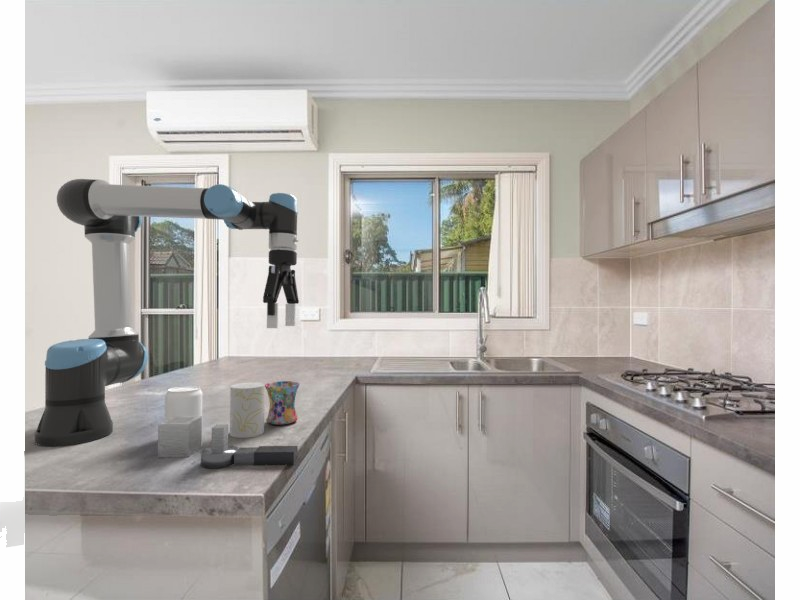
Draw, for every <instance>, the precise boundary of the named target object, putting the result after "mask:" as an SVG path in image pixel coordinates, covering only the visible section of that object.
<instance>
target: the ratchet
mask: <svg viewBox="0 0 800 600" xmlns="http://www.w3.org/2000/svg"><path fill="white" fill-rule="evenodd" d="M298 453H299V446H298V445H259V446H258V447H252V446H251V447H250V446H249V447H247V446H246V447H239V448H238V446H236V445H233V444H229V424H227V423H226V424H225V423H224V424H221V423H220V424H215V425H213V426H212V427H211V446H210V447H208V448H207V447H206V448H205V449H203V450H202V451H200V467H201V468H203V469H206V470H221V469H225V468H229V467H232V466H235V467H236V466H239V467H241V466H244V467H245V466H246V467H247V466H254V467H257V466H260V467H261V466H262V467H263V466H266V467H267V466H269V467H270V466H273V467H274V466H295V464H296V463H297V461H298V459H299V458H298V457H299V455H298Z"/></svg>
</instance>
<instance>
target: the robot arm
mask: <svg viewBox="0 0 800 600" xmlns="http://www.w3.org/2000/svg"><path fill="white" fill-rule="evenodd" d="M56 203H57V204H56V205H57V207H58V210H60V213H62V215H63V216H65V218H67V219H68V220H70V221H71V222H72V223H75V224H78V225H81V226H84V228H83V229H84V237H85V239H86V240H88V241H89V242H90V243H91V251H92V252H91V254H92V255H91V256H92V282H93V284H92V285H93V309H94V312H93V313H94V331H93V332H92V333H91V334H90V335H89V336H88V338H81V339H80V338H79V339H75V340H74V339H73V340H66V341H62V342H58V343H55V344H52V345H50V347H48V348H47V350H46V355H45V357H46V358H45V361H44V366H45V374H44V375H45V377H44V378H45V381H44V382H45V383H44V384H45V385H44V387H45V389H44V390H45V391H44V392H45V400H44V402H45V403H44V404H45V405H44V410H43V413H42V415H41V418H40V421H39V423H38V425H37V428H36V430H35V432H34V444H36V443H37V444H36V445H38V444H39V445H38V446H43V445H45V446H46V447H57V446H59V447H60V446H68V445H76V444H81V443H86V442H91V441H95V440H99V439H102V438H104V437H107V436H109V435H110V434H112V433H113V431H114V422H113V420H112V418H111V414H110V412H109V409H108V406H107V404H106V387H108V386H111V385H115V384H123V383H126V382H128V381H130V380H133V379H135V378H137V377H138V376H140V374H141V373H143V371H145V369H146V367H147V364H148V362H149V361H148V360H149V354H148V350H147V348H146V346H144V345H143V343H142V342H141V341H140V339H139V338H140V337H139V332H138V331H136V330H135V329H134V328H133V319H132V318H133V317H132V315H133V313H132V293H131V292H132V291H131V288H132V287H131V267H130V266H131V265H130V261H131V260H130V244H131V243H132V242H134V241H135V240H136V239H135V238H136V232H138V231H139V228H141V226H142V223H143V217H146V218H147V217H149V218H173V219H175V218H176V219H177V218H179V219H202V220H203V219H204V220H207V219H208V220H219V221H220V220H222V221H224V224H225V226H226V227H227V228H228V229H232V230H239V231H242V230H268V249H270V250H269V251H268V264H270V265H269V266H268V273H267V278H266V283H265V288H264V292H263V297H262V302H263V303H264V304H266V329H279V303H277V302H278V299H279V295H280V293H281V291H282V289H283V293H284V296H285V300H286V303H285V318H284V319H285V321H284V322H285V324H284V326H285V327H296V307H297V306H296V304H297V305H299V303H300V301H299V293H298V288H297V281H296V270H295V269H291V266H296V265H297V260H298V259H297V258H298V253H297V251H296V250H298V249H297V247H298V246H297V245H298V244H297V243H298V242H299V238H297V237H298V232H297V231H298V214H299V213H298V201H297V197H295V196H294V195H292V194H290V193H284V192H276V193H271V194H270V195H269V198H268V201H251V200H249V198H246V197H245V196H243V195H242V194H241V193H239V192H238V191H237V190H236V189H234V188H232V187H231V186H228V185H225V184H219V183H218V184H214V185H212V186H210V187H206V188H205V187H181V186H158V185H157V186H156V185H155V186H154V185H136V184H135V185H134V184H131V185H130V184H111V183H109V182H108V181H106V180H105V179H88V178H75V179H71V180H68V181H67V182H65V183H64V184H63V185H61V186H60V188H59V189H58V191H57V194H56Z"/></svg>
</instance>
